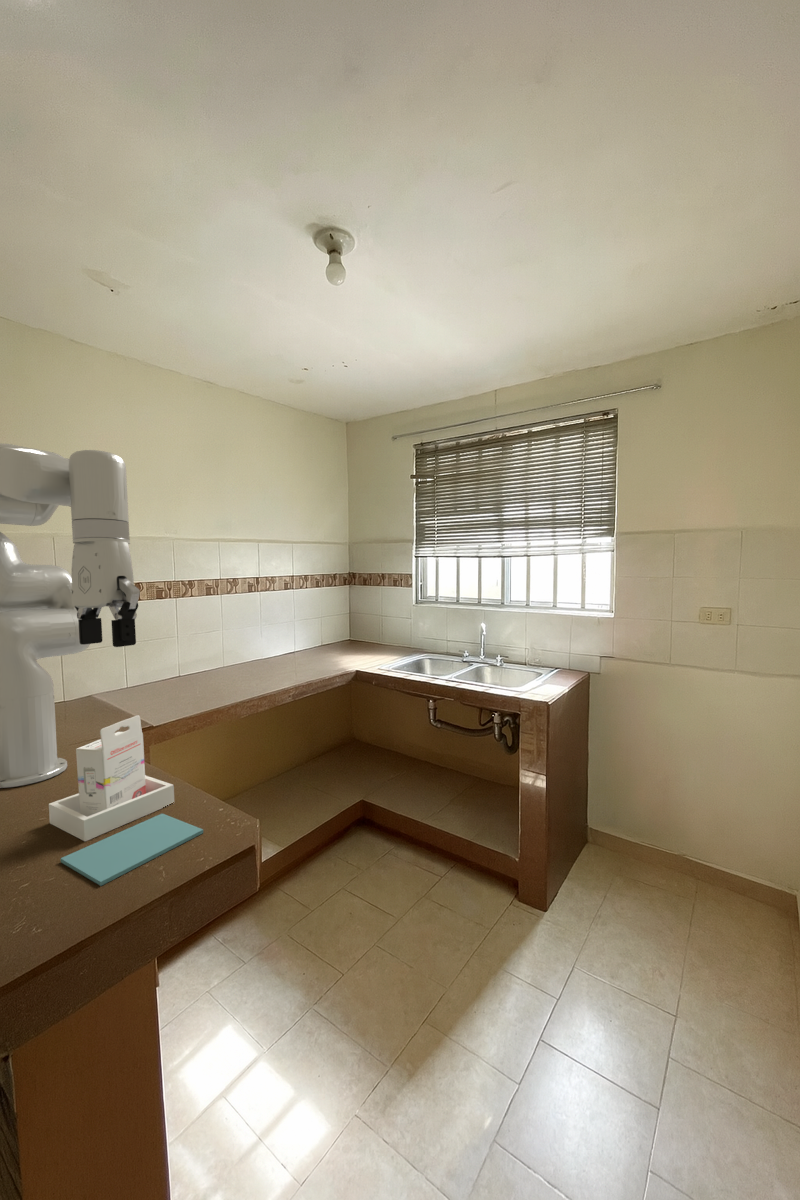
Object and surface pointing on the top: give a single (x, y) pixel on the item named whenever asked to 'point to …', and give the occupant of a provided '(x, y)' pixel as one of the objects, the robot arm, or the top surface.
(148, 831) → the mat
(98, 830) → the white rectangular frame
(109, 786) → the ink cartridge box
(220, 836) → the top surface
